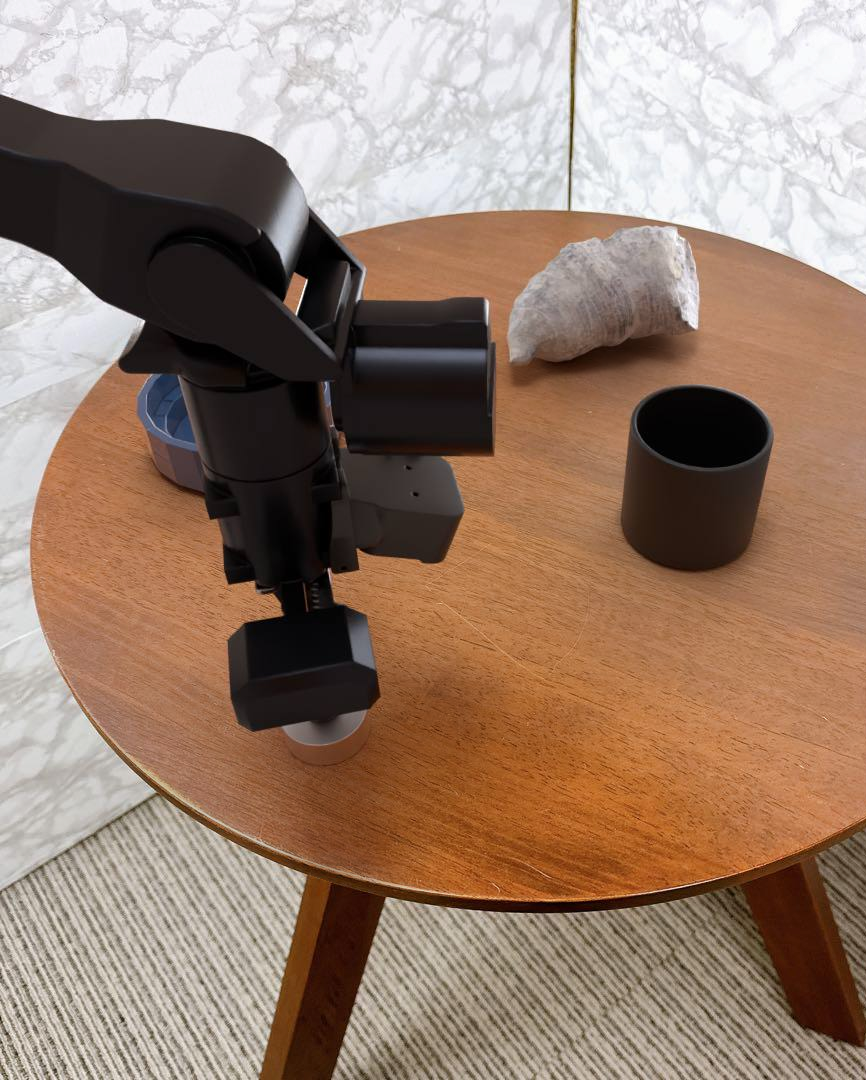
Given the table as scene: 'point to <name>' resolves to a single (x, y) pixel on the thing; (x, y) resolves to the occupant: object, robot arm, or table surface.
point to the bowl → (176, 429)
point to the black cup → (694, 475)
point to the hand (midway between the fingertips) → (313, 664)
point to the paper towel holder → (327, 732)
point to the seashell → (606, 295)
